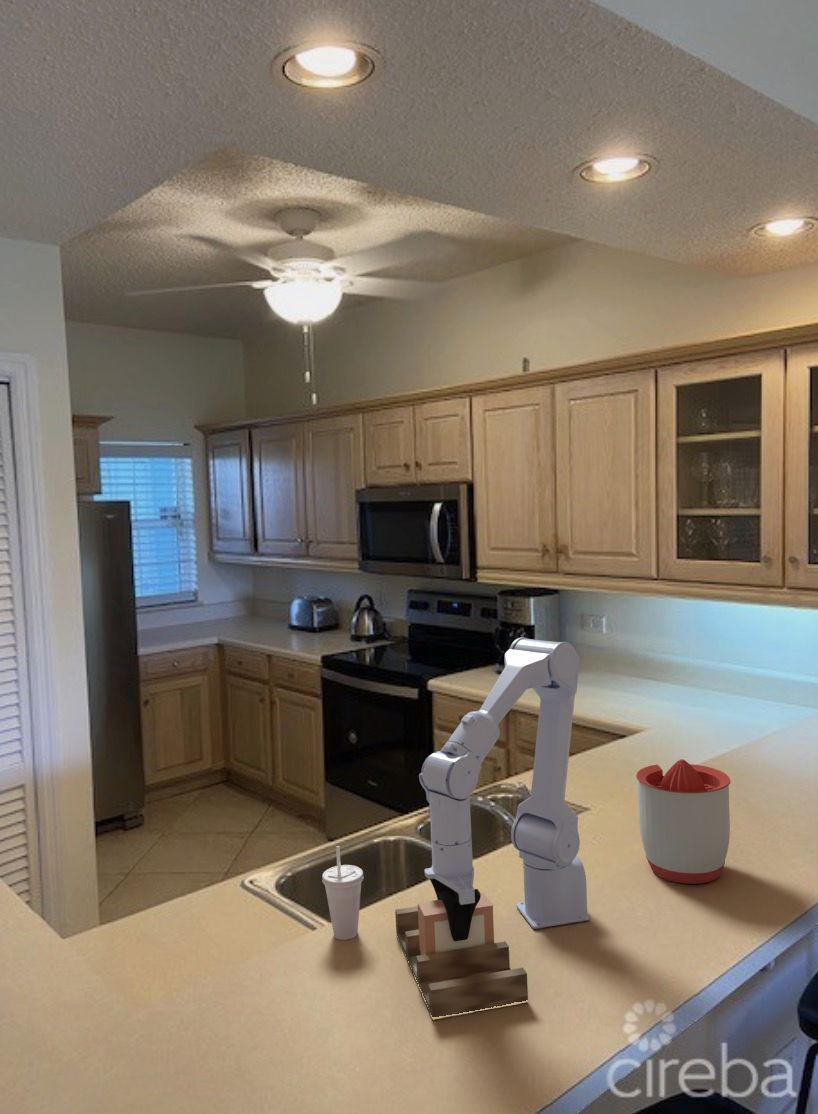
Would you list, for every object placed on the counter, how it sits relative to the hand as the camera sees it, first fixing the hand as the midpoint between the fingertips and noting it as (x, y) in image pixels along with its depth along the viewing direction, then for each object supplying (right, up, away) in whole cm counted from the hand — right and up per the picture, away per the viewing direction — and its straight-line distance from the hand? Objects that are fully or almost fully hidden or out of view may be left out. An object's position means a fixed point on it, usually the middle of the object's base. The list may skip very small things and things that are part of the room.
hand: (455, 930), depth 118 cm
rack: (0, -5, 0) cm, 5 cm away
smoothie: (-16, -6, +11) cm, 21 cm away
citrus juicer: (+42, -2, +28) cm, 51 cm away
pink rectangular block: (0, -3, 0) cm, 3 cm away
